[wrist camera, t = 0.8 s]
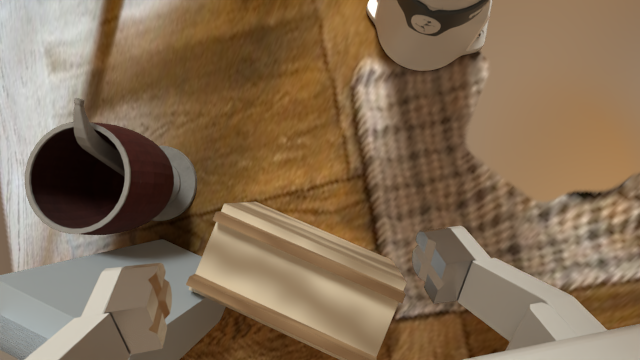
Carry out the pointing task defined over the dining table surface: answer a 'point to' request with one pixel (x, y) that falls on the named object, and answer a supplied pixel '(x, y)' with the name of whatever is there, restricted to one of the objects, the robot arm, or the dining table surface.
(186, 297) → the grey tall block
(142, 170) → the mate gourd
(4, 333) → the bar
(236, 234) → the cradle block
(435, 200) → the dining table surface
